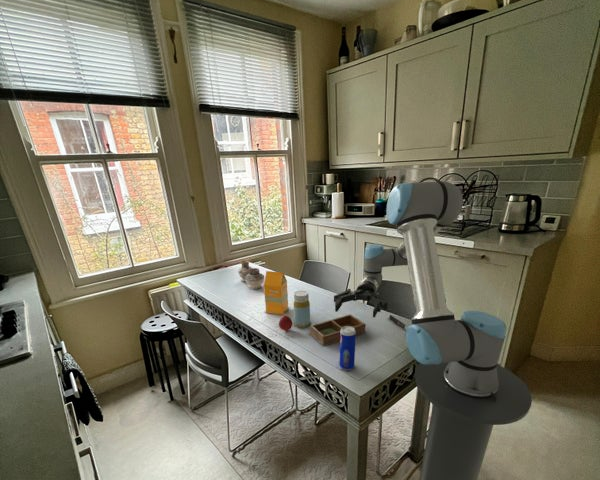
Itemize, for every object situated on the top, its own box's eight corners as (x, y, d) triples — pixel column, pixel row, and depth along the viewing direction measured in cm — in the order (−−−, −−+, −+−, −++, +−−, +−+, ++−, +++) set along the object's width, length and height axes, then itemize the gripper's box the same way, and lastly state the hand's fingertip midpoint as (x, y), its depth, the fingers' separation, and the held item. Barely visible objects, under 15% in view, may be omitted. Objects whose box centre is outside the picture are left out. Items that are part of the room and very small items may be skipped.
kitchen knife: (388, 318, 143) (389, 315, 142) (390, 318, 143) (391, 314, 143) (415, 337, 128) (416, 333, 127) (417, 337, 128) (418, 333, 127)
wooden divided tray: (365, 332, 133) (365, 324, 131) (323, 345, 125) (323, 336, 123) (350, 322, 141) (350, 314, 140) (310, 334, 133) (310, 325, 132)
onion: (295, 329, 137) (294, 313, 134) (288, 335, 133) (287, 318, 129) (284, 326, 140) (283, 310, 137) (276, 332, 136) (275, 315, 132)
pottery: (252, 276, 202) (250, 258, 197) (268, 288, 183) (266, 268, 178) (235, 279, 197) (232, 261, 192) (250, 292, 178) (247, 272, 173)
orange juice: (282, 314, 151) (280, 275, 142) (265, 312, 153) (262, 273, 145) (288, 307, 157) (286, 269, 149) (272, 305, 160) (269, 268, 152)
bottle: (292, 327, 139) (291, 295, 133) (296, 319, 145) (295, 289, 139) (308, 328, 138) (307, 297, 131) (311, 321, 144) (310, 290, 138)
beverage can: (336, 366, 112) (337, 329, 106) (345, 360, 115) (346, 324, 109) (348, 372, 109) (349, 334, 102) (357, 366, 112) (358, 329, 106)
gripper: (397, 301, 126) (389, 326, 109) (337, 293, 135) (321, 315, 118) (399, 284, 123) (391, 306, 106) (338, 277, 132) (321, 296, 115)
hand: (354, 311), depth 112 cm, fingers open, 13 cm apart
